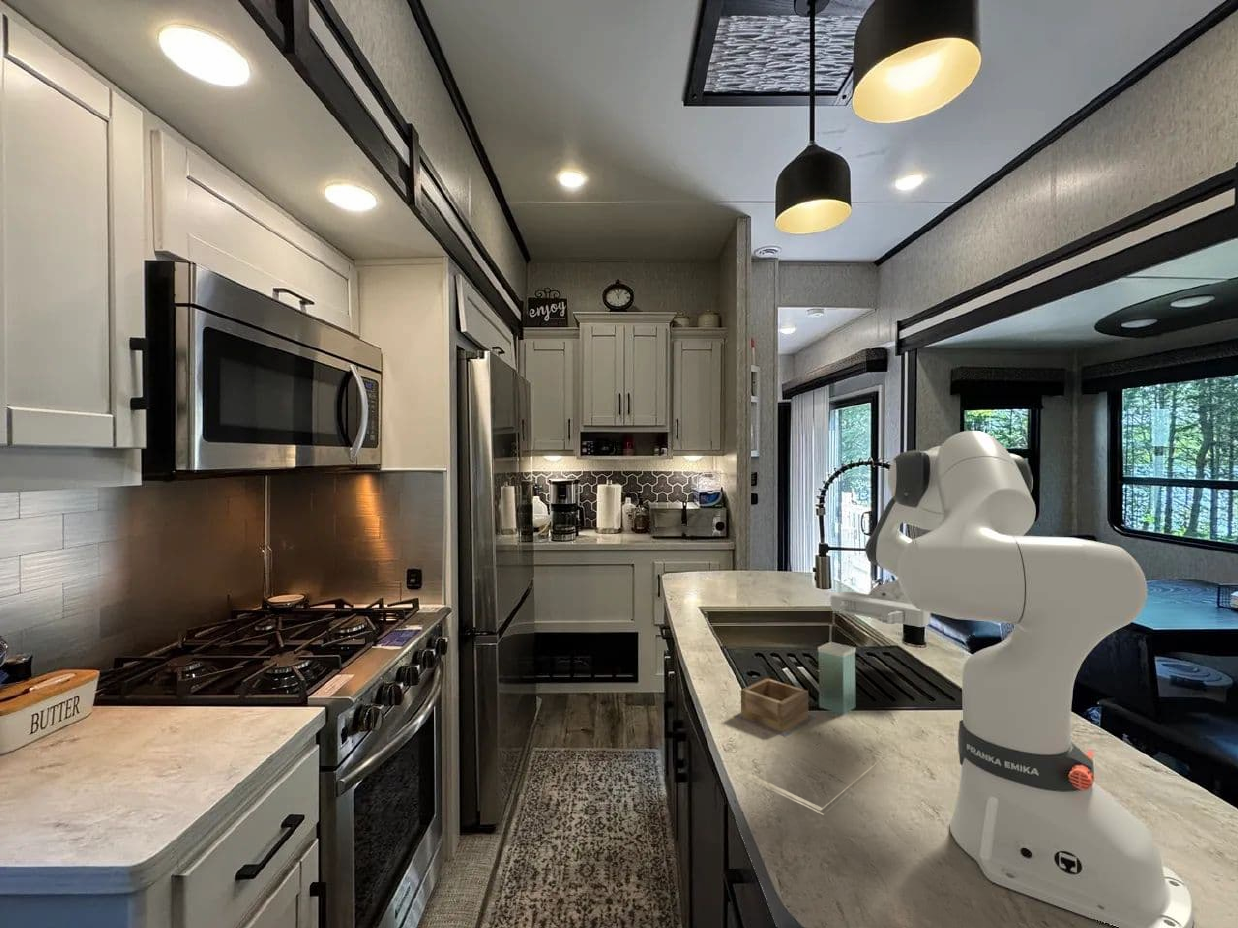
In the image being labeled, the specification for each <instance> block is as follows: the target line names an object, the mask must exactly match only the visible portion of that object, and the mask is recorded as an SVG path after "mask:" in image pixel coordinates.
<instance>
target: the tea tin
mask: <svg viewBox="0 0 1238 928" xmlns="http://www.w3.org/2000/svg"><path fill="white" fill-rule="evenodd" d="M817 652H818V705H819V708H821V709H824V710H826V711H827V710H828V711H830V712H833V713H836V714H839V715H841V716H842V715H843V716H845V715H846V714H848V713H849V712H851V711H853V710H854V709H855V708H856V647H854V646H851V645H847V644H841V643H837V642H834V641H829V642H827V643H824V644H822V645H820V646H817Z"/></svg>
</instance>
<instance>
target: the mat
mask: <svg viewBox="0 0 1238 928" xmlns="http://www.w3.org/2000/svg"><path fill="white" fill-rule="evenodd" d="M733 717H734V718H735V719H736V718H737V719H738V720H741V721H744V722H746V723H749V724H751V725H755V727H758V728H762V729H765V730H767V731H770V732H773V733H775V734H776V735H779V736H783V737H787V736H788V735H790V734H792V733H794V732H795V731H797V730H799V729H801V728H802V727H804V726H805V725H807V724H808V723H810V722H811V721H814V720H815V719H817V717H815V716H813V715H810V714H809V718H807V719H805V720H803V721H802V722H800V723H798V724H797V725H795V726H793V727H792V728H790V729H788V730H787V731H785V732H780V731H777V730H775V729H772V728H770V727H767V726H765V725H762V724H759V723H757V722H754V721H752V720H749V719H746V718H744V717H741V712H739V713H737V714H735V715H734V716H733Z"/></svg>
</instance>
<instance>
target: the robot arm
mask: <svg viewBox="0 0 1238 928" xmlns="http://www.w3.org/2000/svg"><path fill="white" fill-rule="evenodd" d="M1033 479H1034V478H1033V474H1032V470H1031V467H1030V464H1029V463H1028V462H1027V461H1026V460H1025V459H1024V457H1022V456H1020V455H1017V454H1015V453H1010V452H1009V451H1008V450H1007V449H1006V448H1005V446H1004V445H1003V444H1002V443H1001V442H1000V441H999V440H997V438H995V437H994V436H992V435H991V434H989V433H987V432H983V431H978V430H966V431H960V432H958V433H956V434H953V435H951V436H950V437H948V438H947V439H946V440H945V441H944V442H942V444H941V445H937V446H934V447H931V448H929V449H927V450H919V449H914V450H908V451H907V450H906V451H904V452H900V453H898V455H896V456H895V457H894V458H893V460H892V463H891V464H890V467H889V469H888V474H887V484H888V485H887V486H888V487H889V490H890V493H891V498H890V499H889V501H888V502H887V504H886V506H885V508H884V510H883V511H882V512H881V515H880V518H879V520H878V522H877V524H876V526H875V528H874V531H873V532H872V534H871V535H870V537H868V540H867V541H866V544H865V546H864V550H865V552H864V553H865V554H866V558H867V560H868V561H869V562H870V563H872V564H874V565H875V566H877V567H879V568H881V569H883V570H885V571H886V572H889V573H890V574H892V575H894V576H895V577H897V579H894V580H892V581H889V582H885V583H883V584H882V583H881V584H879V585H877V586H875V587H873V588H872V589H871V590H870V591H869V592H868V594H867V593H862V592H856V591H841V592H836V593H831V595H830V598H829V599H830V600H829V601H830V603H829V604H830V609H831V610H832V611H834V612H838V613H839V614H841V615H848V614H851V615H856V616H861V617H867V618H871V619H875V620H877V621H879V622H881V623H884V624H888V625H894V624H901V625H907V626H914V627H916V628H917V627H918V628H924V627H926V626H928V625H930V624H931V615H932V614H935V615H938V616H943V617H946V618H951V619H954V620H967V621H977V622H978V621H981V622H992V623H993V622H994V623H1005V624H1014V627H1013V629H1012V630H1011V632H1010V634H1009V635H1008V636H1007V637H1006V638H1004V640H1002V641H1001V642H999V643H996V644H994V645H991V646H988V647H985V648H982V649H980V650H977V651H976V652H974V653H973V654H972V655H970V657H969V658H968V659H967V660H966V661H965V663H964V665H963V666H962V671H961V684H962V685H961V690H962V694H961V695H962V697H961V698H962V701H961V702H962V720H961V719H960V721H959V723H958V731H957V751H958V755H959V757H958V758H959V764H960V766H961V769H960V770H961V772H960V779H959V787H958V793H957V798H956V803H955V808H954V811H953V814H952V817H951V818H950V822H949V830H950V833H951V836H952V837H953V839H954V841H955V842H956V843H957V844H958V846H959V847H961V848H962V849H963V850H964V852H965V853H967V854H968V855H969V856H970V857H972V858H973V860H975V861H976V863H977V864H978V866H979V868H980V869H981V872H983V874H984V876H985V877H986V878H987V879H988V880H989V881H991V882H992V883H995V884H997V885H999V886H1001V887H1004V888H1007V889H1008V890H1009V889H1010V890H1013V891H1016V892H1017V893H1021V894H1023V895H1026V896H1029V897H1032V898H1034V899H1037V900H1040V901H1042V902H1046V903H1047V904H1050V905H1053V906H1057V907H1059V908H1062V909H1063V910H1064V909H1065V910H1067V911H1070V912H1073V913H1075V914H1078V915H1081V916H1084V917H1086V918H1088V919H1092V920H1094V919H1095V921H1097V920H1098V921H1097V922H1100V921H1101V922H1100V923H1102V922H1105V923H1108V924H1112V925H1116V926H1118V927H1120V928H1193V925H1194V919H1195V912H1194V905H1193V899H1192V896H1191V893H1190V891H1189V888H1188V887H1187V885H1186V883H1185V882H1184V881H1183V879H1182V878H1181V877H1179V876H1178V875H1177V873H1175V872H1174V871H1173V870H1172V869H1171V868H1169V867H1167V866H1165V865H1163V863H1162V860H1161V856H1160V851H1159V850H1158V847H1157V844H1156V842H1155V841H1156V840H1155V839H1154V836H1153V835H1152V834H1151V832H1150V830H1149V828H1148V827H1147V826H1146V825H1145V824H1144V823H1143V821H1141V820H1140V819H1138V818H1137V817H1136V816H1135V815H1134V814H1132V813H1131V812H1130V811H1129V810H1128V809H1127V808H1125V806H1123V805H1121V804H1120V803H1119V802H1118V801H1117V800H1115V799H1114V798H1113V797H1112V796H1111V795H1110V794H1108V792H1106V791H1105V789H1103V788H1101V787H1100V786H1099V785H1098V784H1097V783H1096V782H1094V780H1095V770H1094V769H1095V768H1094V760H1093V757H1094V756H1093V752H1092V750H1090V749H1089V750H1087V753H1085V752H1083V751H1082V750H1081V749H1080V748H1079V747H1078V746H1077V745H1075V743H1073V742H1072V741H1071V740H1072V739H1071V737H1072V736H1071V731H1072V730H1071V725H1072V724H1071V723H1072V720H1071V719H1072V717H1071V715H1072V703H1073V702H1072V701H1073V690H1074V686H1075V685H1074V684H1075V680H1076V677H1077V674H1078V672H1079V671H1080V668H1081V666H1082V664H1083V662H1084V661H1085V659H1086V658H1087V657H1088V655H1089V654H1090V653H1091V651H1093V649H1094V648H1095V647H1096V646H1097V645H1098V644H1099V643H1100V642H1102V641H1103V639H1105V638H1106V637H1108V636H1109V635H1111V634H1112V633H1114V632H1116V631H1117V630H1119V629H1121V628H1123V627H1125V626H1127V625H1130V624H1131V623H1132V622H1134V621H1135V620H1136V619H1137V618H1138V616H1140V614H1141V613H1142V611H1143V609H1144V608H1145V606H1146V602H1147V599H1148V583H1147V579H1146V576H1145V573H1144V571H1143V569H1142V568H1141V566H1140V564H1139V563H1138V561H1136V559H1135V558H1134V557H1133V556H1132V555H1131V554H1130V553H1129V552H1127V551H1126V550H1125V549H1123V548H1122V547H1120V546H1117V545H1113V544H1109V543H1103V542H1101V541H1095V540H1090V539H1089V540H1088V539H1083V538H1077V537H1069V536H1065V537H1064V536H1043V535H1042V536H1040V535H1039V536H1037V535H1036V536H1035V535H1025V534H1026V533H1027V532H1028V531H1029V530H1030V529H1031V528H1032V526H1033V524H1034V522H1035V519H1036V512H1037V511H1036V510H1037V509H1036V504H1035V501H1034V499H1033V497H1032V490H1033V484H1034V483H1033V482H1034V480H1033ZM901 524H906V525H910V526H913V527H915V528H919V529H921V530H927V531H929V532H927V533H925V534H923V535H920V536H918V537H915V538H913V539H912V538H911V537H909V536H907V535H905V534H904V533H903V532H901V531H900V530H899V528H900V526H901ZM1105 923H1104V924H1105ZM1108 924H1107V925H1108Z"/></svg>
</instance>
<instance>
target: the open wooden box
mask: <svg viewBox="0 0 1238 928" xmlns="http://www.w3.org/2000/svg"><path fill="white" fill-rule="evenodd" d="M740 713H741V717H744V718H746V719H749V720H752V721H754V722H757V723H759V724H762V725H765V726H767V727H770V728H772V729H775V730H777V731H780V732H785V731H787V730H788V729H790V728H792V727H793V726H795V725H797V724H798V723H800V722H802V721H803V720H805V719H807V718H809V715H810V714H809V690H806V689H803V688H800V687H798V686H793V685H790V684H786V683H784V682H780V681H778V680H775V679H771V678H769V677H768V678H767V677H766V678H764V679H762V680H760V681H758V682H755V683H753V684H751V685H749V686H746V687H745V688H742V689H741V690H740Z"/></svg>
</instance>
